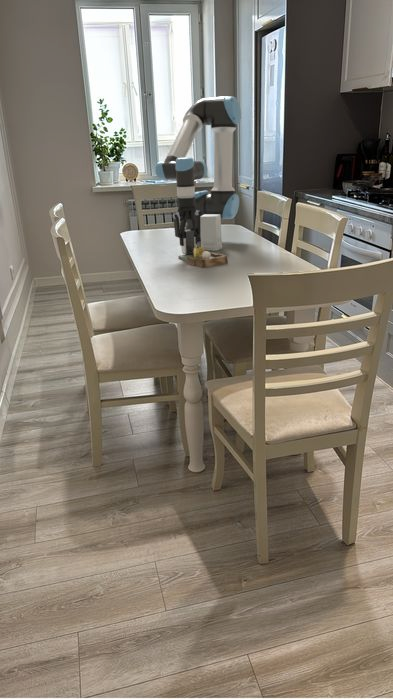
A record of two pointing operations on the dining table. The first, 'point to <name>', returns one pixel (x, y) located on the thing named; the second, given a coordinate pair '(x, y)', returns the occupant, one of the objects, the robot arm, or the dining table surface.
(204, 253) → the ball
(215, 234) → the skincare box
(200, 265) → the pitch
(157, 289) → the dining table surface
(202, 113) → the robot arm
